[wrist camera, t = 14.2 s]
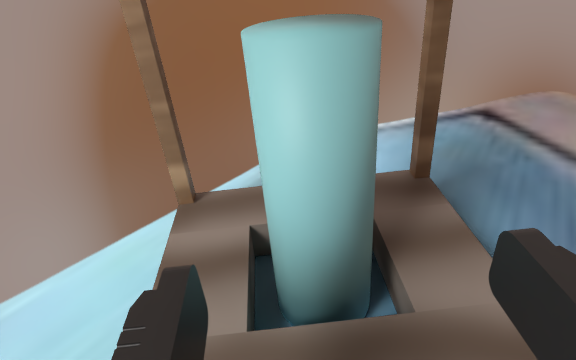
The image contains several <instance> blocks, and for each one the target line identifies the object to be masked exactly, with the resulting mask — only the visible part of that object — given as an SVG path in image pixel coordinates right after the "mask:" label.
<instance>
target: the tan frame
mask: <svg viewBox="0 0 576 360" xmlns="http://www.w3.org/2000/svg"><path fill="white" fill-rule="evenodd" d="M120 4H121V8H122V11H123V15H124V18H125V21H126V25H127V28H128V32H129V35H130V38H131V42H132V45H133V49H134V52H135V56H136V59H137V62H138V66H139V70H140V73H141V76H142V80H143V83H144V87H145V90H146V93H147V97H148V100H149V104H150V107H151V110H152V114H153V118H154V121H155V125H156V127H157V131H158V135H159V138H160V142H161V145H162V148H163V151H164V155H165V159H166V162H167V166H168V169H169V172H170V176H171V180H172V183H173V186H174V190H175V193H176V197H177V200H178V204H179V206H178V209H177V212H176V215H175V219H174V222H173V225H172V228H171V232H170V235H169V238H168V241H167V245H166V248H165V251H164V254H163V257H162V261H161V264H160V267H159V270H158V274H157V277H156V280H155V283H154V287H153V290H156V289H157V286H158V283H159V280H160V277H161V273H162V271H163V269H164V268H166V267H175V266H184V265H195V267H196V269H197V272H198V275H199V279H200V282H201V286H202V289H203V292H204V296H205V299H206V303H207V308H208V332H207V339H206V346H205V354H204V360H537V358H536V357H535V355H534V354H533V352H532V351H531V349H530V348H529V346H528V345H527V344H526V342H525V341H524V339H523V338H522V336H521V335H520V333H519V332H518V330H517V329H516V328H515V326H514V325H513V323H512V322H511V320H510V319H509V317H508V316H507V314H506V313H505V312H504V310H503V309H502V307H501V306H500V304H499V303H498V301H497V300H496V298H495V297H494V295H493V293H492V291H491V288H490V284H489V270H490V267H491V263H492V258H491V256H490V255H489V254H488V252H487V251H486V250H485V248H484V247H483V246H482V245H481V243H480V242H479V241H478V239H477V238H476V237H475V236H474V234H473V233H472V232H471V230H470V229H469V228H468V226H467V225H466V224H465V223H464V221H463V220H462V219H461V217H460V216H459V215H458V213H457V212H456V211H455V210H454V208H453V207H452V206H451V204H450V203H449V202H448V201H447V199H446V198H445V197H444V195H443V194H442V193H441V191H440V190H439V189H438V188H437V186H436V185H435V184H434V182H433V181H432V180H431V178H430V169H431V162H432V154H433V147H434V139H435V132H436V124H437V117H438V109H439V101H440V94H441V86H442V79H443V71H444V64H445V57H446V49H447V42H448V34H449V26H450V19H451V12H452V4H453V0H427V4H426V15H425V23H424V34H423V44H422V53H421V64H420V73H419V83H418V93H417V103H416V114H415V123H414V133H413V143H412V153H411V163H410V170H403V171H394V172H385V173H376V174H375V196H374V219H373V241H372V250H373V252H374V255H375V257H376V260H377V263H378V265H379V268H380V270H381V273H382V275H383V278H384V280H385V283H386V286H387V288H388V291H389V293H390V296H391V298H392V301H393V304H394V306H395V309H396V311H397V314H396V315H387V316H379V317H370V318H362V319H353V320H345V321H336V322H327V323H319V324H310V325H302V326H293V327H284V328H276V329H267V330H259V331H254V313H255V256H262V255H271V254H272V252H271V245H270V238H269V231H268V224H267V217H266V209H265V202H264V195H263V188H262V186H258V187H249V188H239V189H230V190H221V191H212V192H203V193H195V190H194V186H193V182H192V178H191V174H190V170H189V167H188V163H187V159H186V155H185V151H184V147H183V143H182V140H181V136H180V132H179V128H178V124H177V120H176V116H175V112H174V108H173V105H172V100H171V97H170V93H169V89H168V85H167V81H166V77H165V73H164V69H163V65H162V62H161V58H160V54H159V50H158V46H157V42H156V38H155V35H154V30H153V27H152V23H151V19H150V15H149V11H148V7H147V3H146V0H120Z"/></svg>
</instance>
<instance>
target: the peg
mask: <svg viewBox="0 0 576 360" xmlns="http://www.w3.org/2000/svg"><path fill="white" fill-rule="evenodd" d="M241 38H242V45H243V52H244V59H245V66H246V74H247V81H248V87H249V94H250V102H251V109H252V117H253V123H254V131H255V138H256V145H257V152H258V159H259V167H260V174H261V181H262V188H263V195H264V202H265V209H266V217H267V224H268V231H269V238H270V245H271V252H272V259H273V267H274V274H275V281H276V288H277V295H278V302H279V307H280V310H281V312H282V314H283V316H284V317H285V319H286V320H287V321H288V322H289V323H290V324H291V325H292V326H302V325H310V324H319V323H327V322H336V321H345V320H353V319H362V318H364V317H365V315H366V313H367V312H368V309H369V304H370V286H371V264H372V241H373V219H374V196H375V174H376V151H377V129H378V106H379V84H380V61H381V38H382V20H381V19H379V18H376V17H372V16H366V15H354V14H328V15H327V14H325V15H310V16H299V17H291V18H284V19H278V20H273V21H268V22H263V23H259V24H256V25H252V26H250V27H247V28H245V29H244V30H242V31H241Z"/></svg>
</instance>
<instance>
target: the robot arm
mask: <svg viewBox="0 0 576 360" xmlns="http://www.w3.org/2000/svg"><path fill="white" fill-rule="evenodd" d="M489 284H490V288H491V291H492V293H493V295H494V297H495V298H496V300H497V301H498V303H499V304H500V306H501V307H502V309H503V310H504V312H505V313H506V314H507V316H508V317H509V319H510V320H511V322H512V323H513V325H514V326H515V328H516V329H517V330H518V332H519V333H520V335H521V336H522V338H523V339H524V341H525V342H526V344H527V345H528V346H529V348H530V349H531V351H532V352H533V354H534V355H535V357H536V358H537V360H576V255H575V254H574V253H572V252H570V251H568V250H567V249H565V248H563V247H561V246H555V245H554V244H553V243H552V242H551V241H550V240H549V239H548V238H547V237H546V236H545V235H544V234H543V233H542V232H540V231H539V230H537V229H535V228H529V229H520V230H511V231H503V232H502V233H501V234H500V235H499V238H498V241H497V245H496V248H495V252H494V256H493V259H492V263H491V267H490V270H489ZM207 332H208V308H207V303H206V299H205V296H204V292H203V289H202V286H201V282H200V279H199V275H198V272H197V269H196V267H195V265H184V266H175V267H166V268H164V269H163V271H162V273H161V277H160V280H159V283H158V286H157V289H156V290H147V291H144V292H143V293H142V294H141V295H140V297H139V298H138V299H137V300H136V302H135V303H134V304H133V305H132V306H131V308H130V309H129V312H128V315H127V318H126V320H125V323H124V326H123V332H121V334H120V337H119V340H118V343H117V349H115V351H114V354H113V356H112V359H111V360H204V354H205V346H206V339H207Z"/></svg>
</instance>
